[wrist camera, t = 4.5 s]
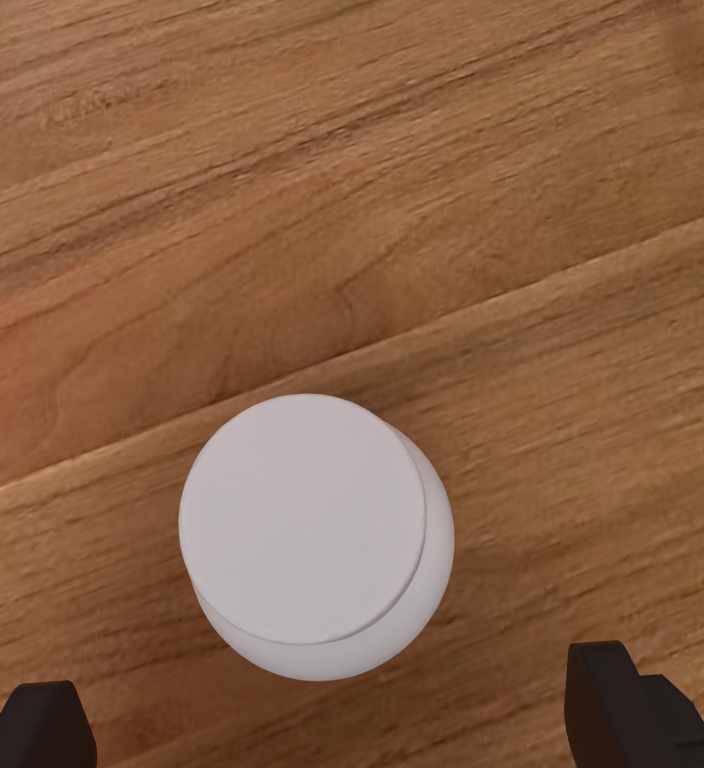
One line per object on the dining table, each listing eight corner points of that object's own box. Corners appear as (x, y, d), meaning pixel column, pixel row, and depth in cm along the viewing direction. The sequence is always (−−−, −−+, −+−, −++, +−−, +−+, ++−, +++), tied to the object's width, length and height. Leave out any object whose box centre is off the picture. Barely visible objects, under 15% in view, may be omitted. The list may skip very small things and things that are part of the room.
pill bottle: (351, 439, 21) (322, 293, 11) (471, 570, 19) (550, 521, 10) (217, 555, 19) (67, 496, 10) (333, 704, 18) (276, 789, 9)
